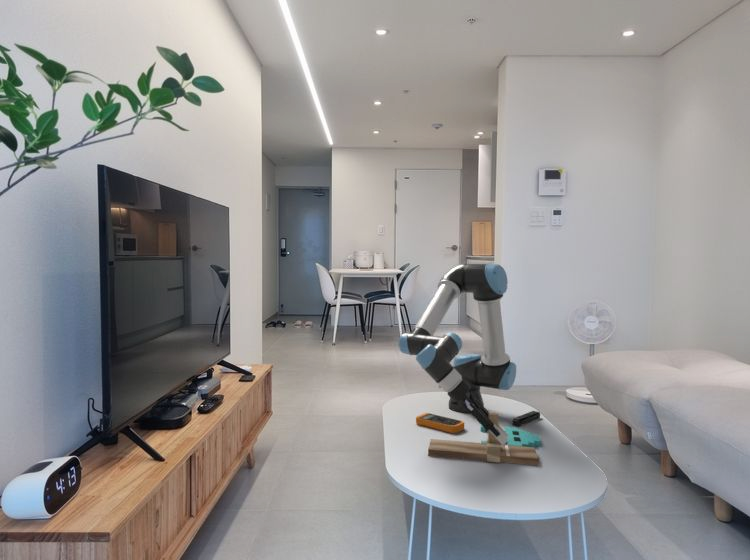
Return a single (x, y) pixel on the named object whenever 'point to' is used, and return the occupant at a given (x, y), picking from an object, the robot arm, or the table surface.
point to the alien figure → (519, 437)
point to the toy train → (525, 418)
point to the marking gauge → (493, 441)
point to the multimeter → (440, 423)
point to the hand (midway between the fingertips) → (505, 439)
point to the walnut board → (482, 451)
